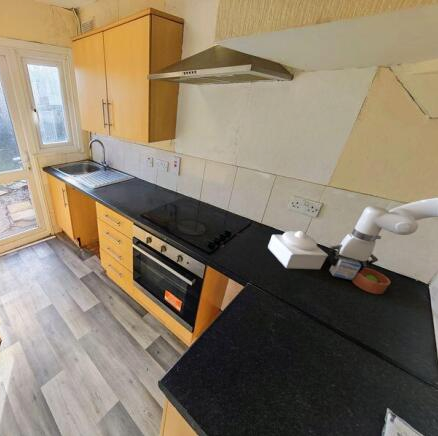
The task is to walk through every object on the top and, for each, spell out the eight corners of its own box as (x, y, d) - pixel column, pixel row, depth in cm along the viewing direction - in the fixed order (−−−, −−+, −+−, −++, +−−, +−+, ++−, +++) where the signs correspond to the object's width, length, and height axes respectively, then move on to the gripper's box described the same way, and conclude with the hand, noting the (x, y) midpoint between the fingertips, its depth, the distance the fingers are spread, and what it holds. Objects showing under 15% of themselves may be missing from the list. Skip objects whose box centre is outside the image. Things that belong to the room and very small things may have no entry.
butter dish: (297, 248, 126) (308, 223, 119) (320, 269, 110) (335, 242, 103) (267, 247, 125) (276, 222, 118) (286, 268, 109) (298, 241, 101)
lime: (371, 283, 102) (377, 274, 100) (375, 290, 98) (382, 281, 96) (358, 279, 104) (363, 271, 102) (361, 286, 100) (367, 277, 98)
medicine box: (332, 276, 104) (340, 261, 100) (328, 270, 108) (336, 255, 104) (352, 280, 102) (362, 265, 98) (348, 274, 106) (357, 259, 102)
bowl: (377, 282, 104) (384, 272, 101) (387, 298, 95) (395, 288, 92) (347, 274, 108) (353, 264, 105) (354, 289, 99) (361, 278, 96)
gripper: (386, 237, 95) (365, 269, 102) (336, 225, 101) (320, 257, 109) (394, 245, 88) (371, 279, 96) (340, 233, 95) (323, 265, 103)
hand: (344, 267), depth 103 cm, fingers closed on medicine box, 8 cm apart
